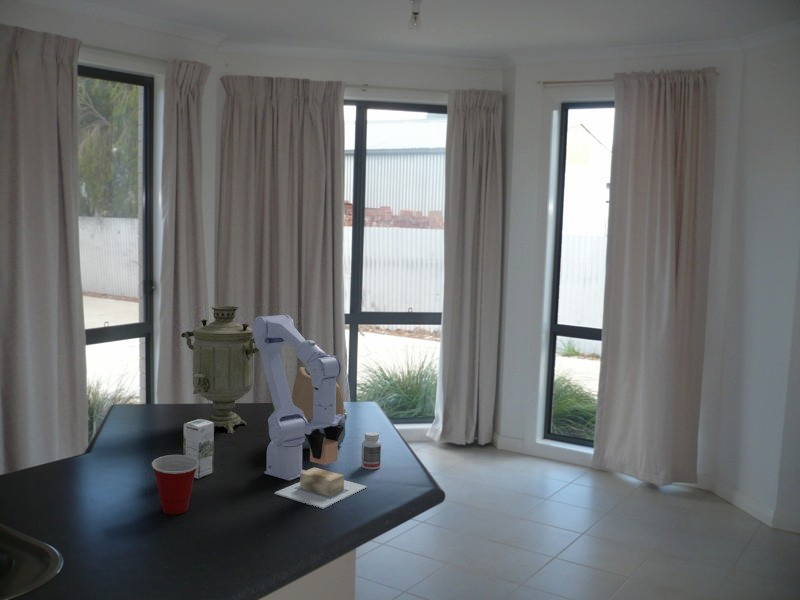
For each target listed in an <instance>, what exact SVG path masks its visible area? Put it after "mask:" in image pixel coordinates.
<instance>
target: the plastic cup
mask: <svg viewBox="0 0 800 600" xmlns="http://www.w3.org/2000/svg"><path fill="white" fill-rule="evenodd" d="M198 465H199V461H198V460H197V459H195V458H194V457H190V456H186V455H183V454H169V455H168V454H167V455H164V456H160V457H158V458H155V459H153V461H152V462H151V466H152V469H153V471H154V474H155V479H156V484H157V485H156V486H157V489H158V490H157V491H158V496H159V500H160V504H161V509H162V512H163V513H164V514H165V515H173V516H174V515H180V514H183V513H185V512H187V511H188V510H189V506H190V499H191V495H192V491H193V485H194V479H195V478H194V475H195V471H196V468H197V467H198Z"/></svg>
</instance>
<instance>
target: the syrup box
mask: <svg viewBox="0 0 800 600" xmlns="http://www.w3.org/2000/svg"><path fill="white" fill-rule="evenodd" d="M207 420H208V419H201V418H200V419H199V418H198V419H195V420H191V421H188V422H185V423H183V442H182V443H183V445H182V446H183V447H182V448H183V450H182V452H183V454H182V455H186V456H190V457H194V458H195V459H197V460H198V461H199V465H198V467H197V468H196V471H195V475H194V479H201V478H204V477H206V476H209V475H212V474H213V473H214V448H215V447H214V446H215V445H214V440H215V439H214V436H215V435H214V432H215V427H214V423H213V422H210V421H207Z"/></svg>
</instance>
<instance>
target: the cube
mask: <svg viewBox="0 0 800 600" xmlns="http://www.w3.org/2000/svg"><path fill="white" fill-rule="evenodd" d="M338 449H339V447H338V441H334V440H330V439H326V438H324V440H323V444H322V454H321V458H320V459H316V458H313V456H312V452H311V448H310V449H309V462H311V463H314V464H318V465H323V466H327V465H329V464H332V463H334V462H336V461H338V454H339V453H338V451H339V450H338Z"/></svg>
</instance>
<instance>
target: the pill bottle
mask: <svg viewBox="0 0 800 600" xmlns="http://www.w3.org/2000/svg"><path fill="white" fill-rule="evenodd" d="M379 438H380V433H379V432H376V431H367V432H364V440H362V443H361V467H362V468H363V469H364V468H365V469H364V470H369V471H370V470H377V469H380V468H381V457H382V455H381V454H382V453H381V452H382V442H381V441H380V440H379Z"/></svg>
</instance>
